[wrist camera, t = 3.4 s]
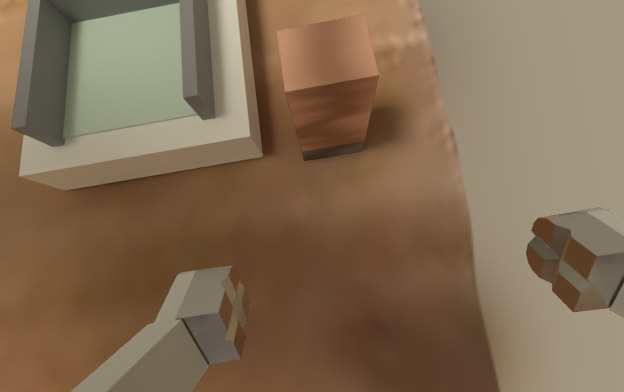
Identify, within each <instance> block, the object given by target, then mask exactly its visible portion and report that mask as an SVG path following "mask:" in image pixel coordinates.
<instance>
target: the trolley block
mask: <svg viewBox="0 0 624 392" xmlns="http://www.w3.org/2000/svg"><path fill="white" fill-rule="evenodd" d="M277 38H278V45H279V52H280V59H281V66H282V73H283V80H284V87H285V93H286V97H287V100H288V104H289V107H290V111H291V115H292V118H293V122H294V125H295V129H296V132H297V136H298V140H299V143H300V147H301V150H302V154H303V157H304V161H307V160H313V159H319V158H325V157H331V156H337V155H342V154H348V153H354V152H360V151H363V146H364V142H365V137H366V133H367V128H368V123H369V119H370V114H371V110H372V105H373V101H374V96H375V91H376V87H377V82H378V78H379V73H378V69H377V65H376V61H375V57H374V52H373V48H372V44H371V40H370V36H369V32H368V28H367V24H366V19H365V15H359V16H353V17H348V18H343V19H337V20H332V21H327V22H321V23H316V24H310V25H305V26H300V27H294V28H289V29H284V30H278V31H277Z"/></svg>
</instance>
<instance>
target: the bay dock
mask: <svg viewBox="0 0 624 392" xmlns="http://www.w3.org/2000/svg"><path fill="white" fill-rule="evenodd" d="M11 129H13V130H15V131H18V132H20V133H22V134H24V137H23V145H22V153H21V162H20V170H19V177H22V178H26V179H29V180H32V181H36V182H39V183H42V184H45V185H49V186H52V187H55V188H58V189H62V190H65V191H66V190H71V189H77V188H83V187H89V186H95V185H101V184H107V183H112V182H118V181H124V180H130V179H136V178H142V177H148V176H154V175H159V174H165V173H171V172H177V171H183V170H189V169H195V168H200V167H206V166H212V165H218V164H224V163H230V162H236V161H242V160H247V159H253V158H259V157H263V152H262V143H261V134H260V125H259V116H258V107H257V98H256V89H255V80H254V72H253V63H252V54H251V45H250V36H249V27H248V18H247V9H246V1H245V0H28V6H27V13H26V21H25V28H24V36H23V43H22V51H21V59H20V66H19V74H18V81H17V89H16V96H15V104H14V111H13V119H12V127H11Z"/></svg>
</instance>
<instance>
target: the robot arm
mask: <svg viewBox="0 0 624 392" xmlns="http://www.w3.org/2000/svg"><path fill="white" fill-rule="evenodd" d="M532 232H533V233H534V234H535V237H534V238H533V239H532V240H531V241H530V242H529V243H528V246H527V251H526V255H527V259H528V263H529V265H530V267H531V268H532V270H533V271H534V272H535V273H536V274H537V275H538V277H539V278H541V279H544V280H546V281H548V282H550V283H552V291H553V292H554V293H555V294H556V295H557V296H558V297H559V298H560V299H561V300H562V301H563V302H564V303H565V304H566V305H567V306H568V307H569V308H570V309H571V310H572V311H573V312H578V311H587V310H596V309H605V308H610V310H611V311H613V312H615V313H617V314H619V315H621V316H622V317H624V219H623V218H622V217H620V216H618V215H616V214H615V213H613V212H611V211H610V210H608V209H603V208H593V209H587V210H582V211H578V212H572V213H566V214H559V215H553V216H548V217H541V218H538V219H537V220H536V221H535V222H534V224H533V227H532ZM239 279H240V273H239V271H238V269H237V267H236V266H234V265H231V266H223V267H215V268H208V269H200V270H195V271H188V272H181V273H180V274H178V275H177V276H176V278H175V280H174V282H173V284H172V287H171V289H170V291H169V293H168V295H167V297H166V299H165V301H164V303H163V305H162V307H161V309H160V311H159V313H158V315H157V318H156V320H155V322H154V323H152V324H148V325H146V326H145V327H144V328H143V329H142V330H141V331H140V332H138V333H137V334H136V335H135V336H134V337H133V338H131V339H130V340H129V341H128V342H127V343H126V344H125V345H123V346H122V347H121V348H120V349H119V350H118V351H117V352H115V353H114V354H113V355H112V356H111V357H110V358H109V359H107V360H106V361H105V362H104V363H103V364H102V365H101V366H99V367H98V368H97V369H96V370H95V371H94V372H93V373H91V374H90V375H89V376H88V377H87V378H86V379H84V380H83V381H82V382H81V383H80V384H79V385H78V386H76V387H75V388H74V389H73V390H72V391H71V392H192V390H193V389H194V388H195V386H196V385H197V383H198V382H199V380H200V379H201V378H202V376H203V375H204V373H205V372H206V370H207V369H208V368H209V366H208V365H212V364H217V363H223V362H229V361H235V360H241V356H242V351H243V345H244V339H245V334H244V332H243V330H242V327H243V326H244V324H245V323H246V322H247V321H248V314H249V300H248V295H247V292H246V289H245V287H244V286H243V285H241V284H240V283H239Z"/></svg>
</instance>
